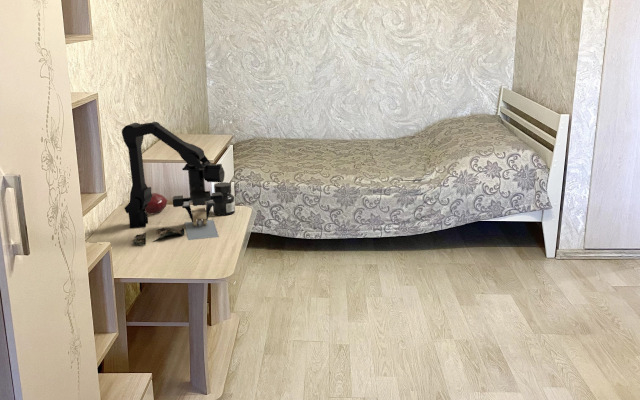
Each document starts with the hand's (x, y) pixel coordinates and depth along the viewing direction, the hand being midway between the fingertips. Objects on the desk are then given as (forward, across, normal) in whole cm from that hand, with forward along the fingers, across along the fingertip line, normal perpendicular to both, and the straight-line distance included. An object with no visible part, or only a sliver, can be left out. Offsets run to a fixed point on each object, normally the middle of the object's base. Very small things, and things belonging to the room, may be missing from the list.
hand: (199, 221), depth 250 cm
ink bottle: (+3, +11, +16) cm, 20 cm away
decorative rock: (+3, -16, -8) cm, 18 cm away
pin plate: (+3, 0, -6) cm, 7 cm away
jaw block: (+1, 0, 0) cm, 1 cm away
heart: (+3, -16, +26) cm, 31 cm away
